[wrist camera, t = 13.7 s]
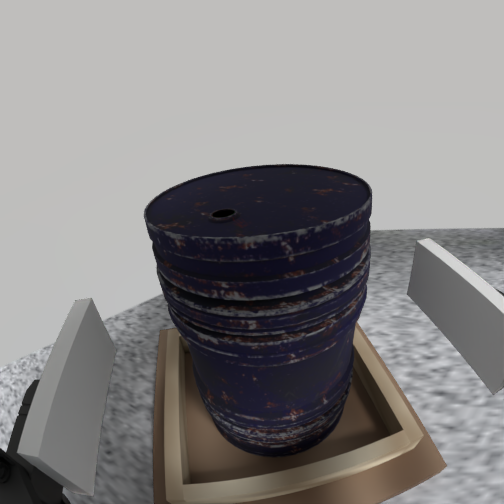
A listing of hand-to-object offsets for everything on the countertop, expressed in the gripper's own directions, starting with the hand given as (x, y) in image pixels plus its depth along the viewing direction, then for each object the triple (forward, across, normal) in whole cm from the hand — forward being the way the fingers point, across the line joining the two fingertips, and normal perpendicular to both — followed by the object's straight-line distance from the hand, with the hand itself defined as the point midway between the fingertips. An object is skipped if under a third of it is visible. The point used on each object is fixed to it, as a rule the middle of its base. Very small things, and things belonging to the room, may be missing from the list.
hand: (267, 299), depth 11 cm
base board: (+3, 0, -13) cm, 13 cm away
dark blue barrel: (+3, +1, -12) cm, 12 cm away
